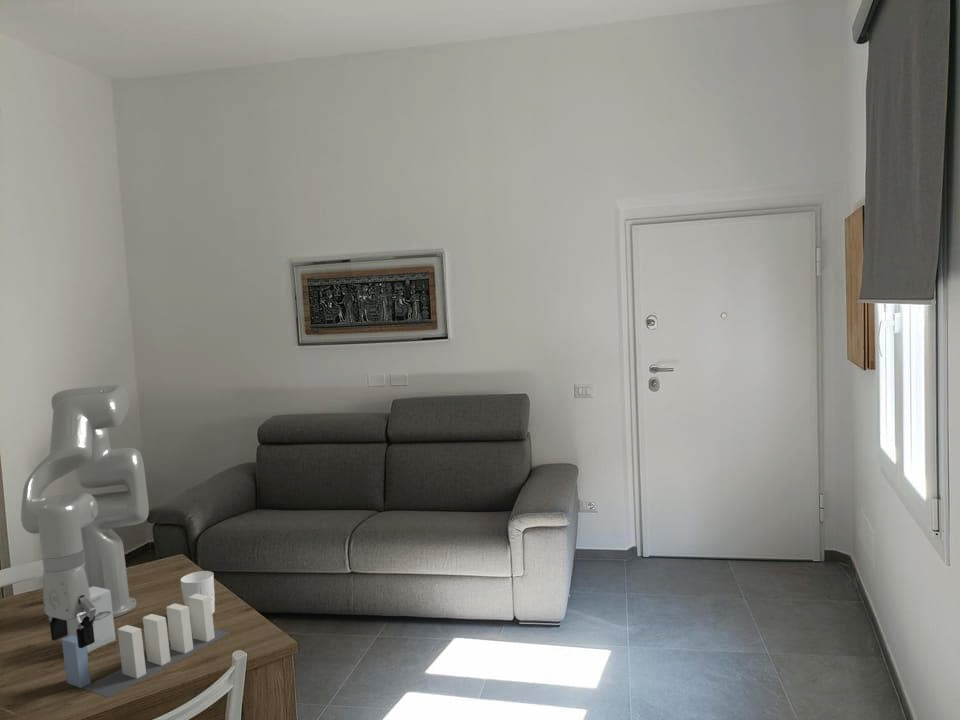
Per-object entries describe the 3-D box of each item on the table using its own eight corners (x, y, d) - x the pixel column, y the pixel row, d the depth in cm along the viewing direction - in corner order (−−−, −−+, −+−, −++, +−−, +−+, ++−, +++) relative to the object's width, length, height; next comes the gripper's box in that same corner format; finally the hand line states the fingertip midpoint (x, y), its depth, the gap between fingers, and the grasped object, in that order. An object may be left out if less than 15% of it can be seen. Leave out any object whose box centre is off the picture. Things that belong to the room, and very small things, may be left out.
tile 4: (185, 653, 169) (180, 610, 168) (170, 649, 171) (166, 607, 170) (193, 649, 170) (188, 606, 170) (179, 645, 173) (174, 603, 172)
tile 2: (136, 678, 158) (131, 633, 158) (122, 673, 161) (117, 629, 160) (146, 673, 160) (141, 628, 159) (131, 669, 163) (126, 624, 162)
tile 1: (81, 689, 156) (75, 643, 155) (67, 684, 159) (61, 639, 158) (91, 684, 158) (85, 639, 157) (77, 679, 161) (71, 634, 160)
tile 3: (161, 665, 164) (156, 621, 163) (147, 661, 166) (142, 617, 165) (170, 661, 165) (165, 617, 165) (156, 656, 168) (151, 613, 167)
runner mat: (82, 689, 156) (82, 688, 156) (205, 628, 182) (205, 626, 182) (108, 699, 151) (108, 697, 151) (230, 634, 178) (230, 632, 178)
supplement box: (87, 654, 173) (80, 601, 172) (69, 648, 177) (62, 596, 176) (117, 640, 179) (111, 589, 178) (99, 635, 183) (93, 584, 182)
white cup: (206, 621, 186) (202, 582, 185) (178, 621, 188) (173, 582, 187) (223, 608, 194) (219, 570, 193) (195, 608, 195) (191, 570, 195)
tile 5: (207, 641, 174) (202, 600, 173) (192, 638, 176) (188, 597, 175) (214, 637, 176) (210, 596, 175) (200, 634, 178) (196, 593, 177)
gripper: (22, 563, 157) (32, 642, 158) (69, 572, 148) (79, 656, 149) (58, 552, 164) (67, 628, 165) (105, 560, 155) (114, 640, 156)
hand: (73, 641), depth 157 cm, fingers open, 9 cm apart
